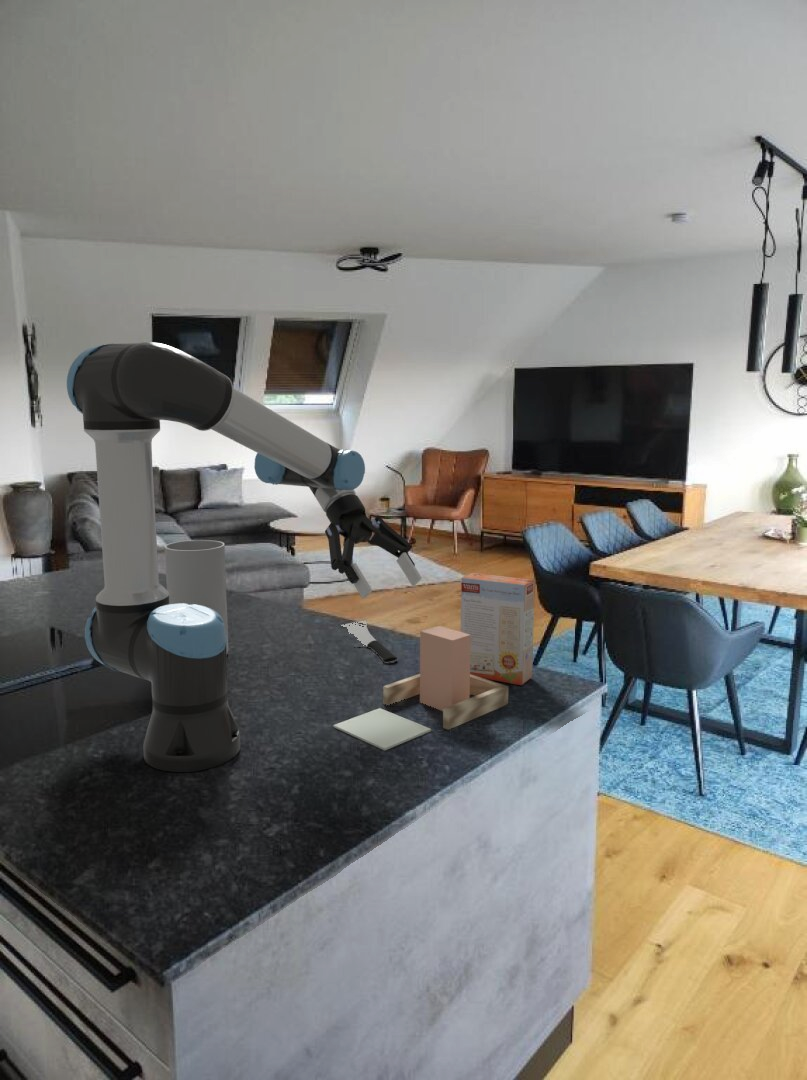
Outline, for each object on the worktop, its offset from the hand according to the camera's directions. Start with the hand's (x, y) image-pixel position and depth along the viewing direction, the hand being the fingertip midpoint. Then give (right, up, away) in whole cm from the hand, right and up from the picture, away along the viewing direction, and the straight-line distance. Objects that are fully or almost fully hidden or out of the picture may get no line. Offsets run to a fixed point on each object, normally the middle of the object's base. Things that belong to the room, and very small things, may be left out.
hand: (393, 588), depth 154 cm
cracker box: (+21, -19, +10) cm, 30 cm away
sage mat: (-2, -23, -17) cm, 29 cm away
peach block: (+10, -21, -6) cm, 24 cm away
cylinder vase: (-43, -17, +22) cm, 51 cm away
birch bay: (+10, -21, -6) cm, 24 cm away
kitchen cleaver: (-8, -15, +31) cm, 36 cm away
